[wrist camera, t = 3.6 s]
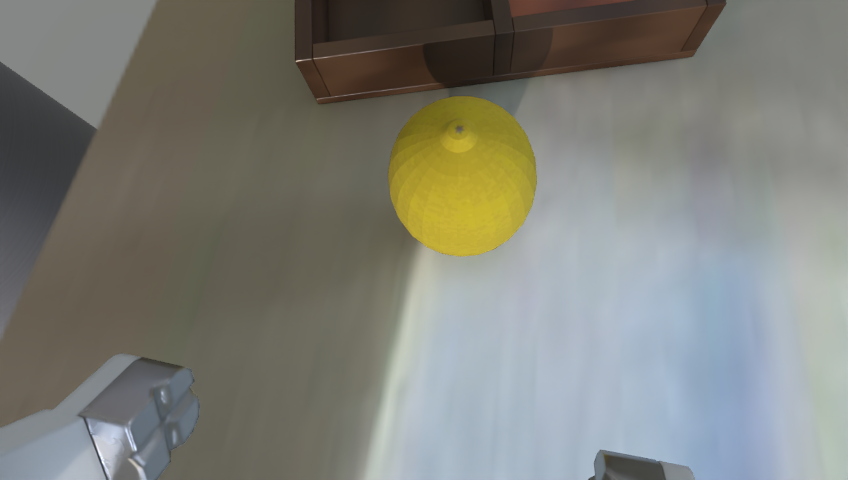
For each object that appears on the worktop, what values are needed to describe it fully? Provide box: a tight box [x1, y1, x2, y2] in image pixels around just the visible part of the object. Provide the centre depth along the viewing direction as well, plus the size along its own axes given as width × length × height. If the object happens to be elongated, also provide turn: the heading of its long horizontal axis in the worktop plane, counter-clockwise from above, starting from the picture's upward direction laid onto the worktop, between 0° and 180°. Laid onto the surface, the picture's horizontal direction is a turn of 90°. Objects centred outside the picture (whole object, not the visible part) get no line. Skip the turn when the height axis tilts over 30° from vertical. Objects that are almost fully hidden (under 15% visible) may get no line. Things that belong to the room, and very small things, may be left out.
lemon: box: [388, 96, 537, 256], centre depth 19 cm, size 6×6×8 cm
